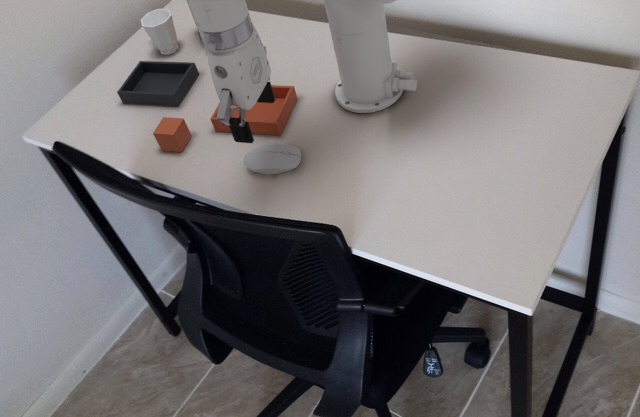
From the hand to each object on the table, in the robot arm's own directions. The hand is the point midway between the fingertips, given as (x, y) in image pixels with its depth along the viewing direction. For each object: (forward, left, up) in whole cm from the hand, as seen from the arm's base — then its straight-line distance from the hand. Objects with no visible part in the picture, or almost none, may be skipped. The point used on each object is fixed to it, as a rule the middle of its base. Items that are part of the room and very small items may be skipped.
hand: (255, 121), depth 104 cm
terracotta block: (+21, -4, -10) cm, 23 cm away
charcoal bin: (+32, -19, -10) cm, 38 cm away
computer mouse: (0, -1, -11) cm, 11 cm away
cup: (+38, -33, -11) cm, 51 cm away
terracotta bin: (+8, -13, -10) cm, 18 cm away
